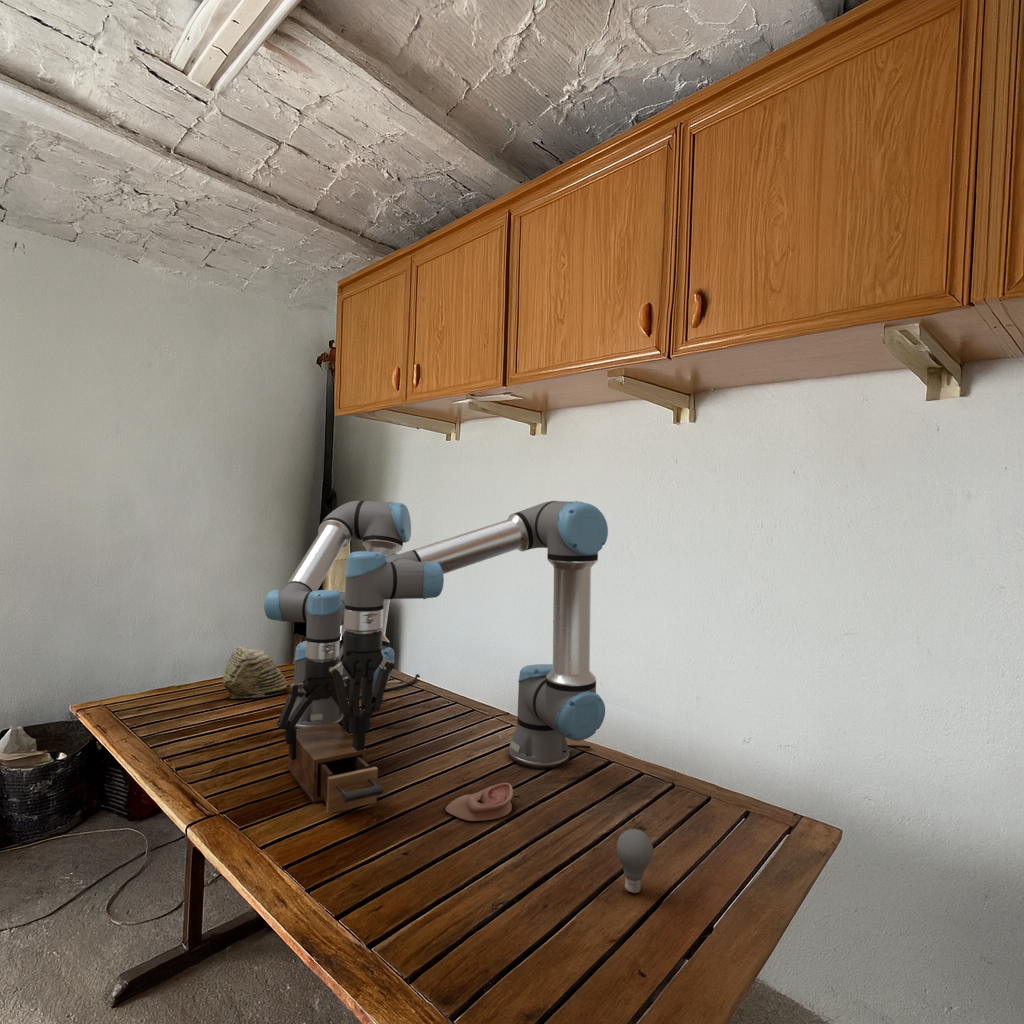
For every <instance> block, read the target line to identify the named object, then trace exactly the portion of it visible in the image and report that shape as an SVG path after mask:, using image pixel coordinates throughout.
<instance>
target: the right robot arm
mask: <svg viewBox="0 0 1024 1024" xmlns="http://www.w3.org/2000/svg"><path fill="white" fill-rule="evenodd" d="M606 519H607V518H605V515H604V514H603V512H602V511H601V510H600V509H599V508H598V507H597V506H595V505H593V504H591V503H587V502H583V501H579V500H574V501H567V500H565V501H564V500H561V501H560V500H550V501H545V502H542V503H538V504H536V505H534V506H531V507H528V508H524V509H522V510H520V511H516V512H513V513H510V514H509V515H508V518H507V519H506V520H502V521H499V522H496V523H492V524H489V525H486V526H483V527H480V528H476V529H473V530H471V531H467V532H464V533H461V534H457V535H455V536H452V537H449V538H445V539H442V540H439V541H436V542H433V543H429V544H426V545H423V546H421V547H417V548H413V549H412V550H408V551H404V552H401V553H397V554H388V555H385V554H384V553H381V552H369V551H367V550H361V551H360V550H359V551H353V552H350V553H349V554H348V555H347V558H346V566H345V569H346V570H345V574H344V578H345V581H344V582H345V583H344V584H345V586H344V592H345V610H344V625H343V629H345V630H344V632H343V633H342V640H343V641H342V645H343V654H342V656H341V658H340V663H338V664H337V665H336V666H334V667H329V669H328V671H329V673H330V674H331V676H332V677H333V680H334V685H335V690H336V695H337V699H338V704H339V709H340V712H341V713H342V714H343V716H344V715H345V716H349V731H350V732H351V733H350V734H352V737H353V745H352V747H353V748H354V749H356V750H357V751H361V750H365V749H366V748H365V747H366V732H369V731H370V729H371V728H370V727H371V717H373V716H374V715H373V714H374V713H375V712H379V711H380V709H381V706H382V702H383V699H384V694H385V692H386V691H385V689H386V688H387V687H386V686H387V684H388V682H387V679H388V675H389V673H390V672H391V670H392V671H393V669H394V666H395V665H394V664H395V663H394V664H393V663H391V662H390V661H388V660H385V659H383V654H382V652H381V649H382V632H381V630H380V629H381V628H382V627H383V606H384V604H383V603H384V599H390V600H411V599H412V600H415V599H417V600H419V599H423V600H426V599H432V598H433V599H435V598H438V597H439V596H440V595H441V593H442V592H443V589H444V583H445V577H444V575H445V574H448V573H451V572H454V571H457V570H460V569H463V568H466V567H469V566H472V565H475V564H477V563H481V562H484V561H487V560H489V559H493V558H496V557H499V556H501V555H502V556H503V555H505V554H508V553H510V552H513V551H517V550H518V551H519V552H522V553H523V552H527V551H530V550H533V549H547V551H546V552H547V555H546V556H547V558H546V559H547V561H548V562H549V564H551V565H552V567H553V603H552V605H553V606H552V608H553V610H552V612H553V613H552V618H553V619H552V664H551V663H538V664H537V663H536V664H528V665H525V666H522V667H521V669H520V671H519V675H518V681H517V682H518V691H517V693H518V695H517V719H516V721H517V722H516V726H515V729H514V732H513V734H512V737H511V740H510V743H509V745H508V758H509V759H510V760H511V761H512V762H513V763H515V764H517V765H519V766H523V767H526V768H530V769H536V770H537V769H539V770H549V769H556V768H560V767H562V766H564V765H565V764H567V763H568V762H569V761H570V748H571V749H589V750H590V749H591V745H585V744H584V745H582V744H568V741H567V739H569V740H571V741H577V742H578V741H585V740H587V739H589V738H590V737H592V736H594V735H595V734H596V732H597V730H599V729H600V728H601V726H602V725H603V722H604V720H605V718H606V717H605V716H606V705H605V702H604V700H603V699H602V697H601V696H600V694H598V693H597V677H596V675H595V674H594V673H593V672H592V671H591V604H592V603H591V602H592V600H591V599H592V598H591V597H592V593H591V592H592V569H593V566H594V565H595V564H597V562H599V552H600V551H601V550H602V549H603V546H604V545H606V543H607V540H608V535H609V526H608V522H607V520H606ZM378 667H379V668H380V669H379V672H378V675H377V679H376V683H375V687H374V690H372V682H373V679H374V673H375V671H376V670H377V668H378ZM343 668H344V669H345V670H346V671H347V673H348V674H349V680H350V688H349V701H348V698H347V695H346V690H345V685H344V681H343V678H342V675H343ZM392 668H393V669H392ZM361 677H362V690H361V689H360V683H361ZM386 683H387V684H386ZM360 691H361V692H360ZM372 692H373V694H372ZM360 693H361V694H360ZM360 695H362V698H359V696H360ZM360 699H361V700H360ZM360 701H361V702H360ZM359 709H360V712H361V713H359ZM345 716H344V717H345Z"/></svg>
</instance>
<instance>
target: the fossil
mask: <svg viewBox="0 0 1024 1024" xmlns="http://www.w3.org/2000/svg"><path fill="white" fill-rule="evenodd" d="M222 676H223V677H222V685H223V687H224V688H225V690H226V691H228V693H229V698H230V699H250V698H264V697H271V696H275V695H281V694H284V693H285V691H286V689H287V687H288V686H287V680H286V678H285V676H284V674H283V673H282V672H281V669H279V668H278V667H277V665H276V663H275V662H274V660H273V659H272V658H271V657H270V656H269V655H268V654H267V653H266V652H265V650H264V649H263V648H260V647H258V648H251V647H247V646H246V647H245V646H238V647H237V648H236V649H235V650H233V651H232V653H231V656H230V657H229V659H228V660H227V663H226V666H225V668H224V671H223V675H222Z"/></svg>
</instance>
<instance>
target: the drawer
mask: <svg viewBox="0 0 1024 1024" xmlns="http://www.w3.org/2000/svg"><path fill="white" fill-rule="evenodd" d="M378 779H379V768H378V767H377V766H371V767H370V765H369V763H367V761H366V762H365V761H364V760H363V759H362V758H361V757H360V756H359V755H358V756H353V757H348V758H343V759H338V760H333V761H328V762H323V763H318V788H317V792H318V793H319V794H320V796H321V797H322V798H323V800H322V801H324V802H325V804H326V806H325V807H326V809H325V810H326V811H325V812H326V813H327V814H328V815H331V814H334V813H339V812H342V811H346V810H351V809H355V808H359V807H363V806H367V805H371V804H375V803H377V802H378V799H377V798H378V796H379V795H382V794H383V793H384V786H383V785H382V784H378V781H379V780H378Z"/></svg>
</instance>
